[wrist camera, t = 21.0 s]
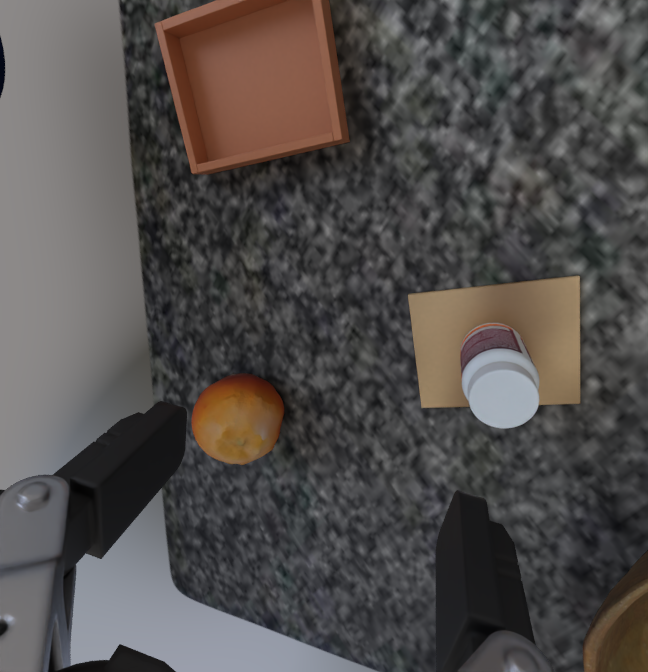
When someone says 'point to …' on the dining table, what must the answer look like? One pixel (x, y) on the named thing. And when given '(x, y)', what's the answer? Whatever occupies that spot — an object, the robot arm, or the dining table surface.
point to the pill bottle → (498, 376)
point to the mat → (505, 308)
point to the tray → (254, 81)
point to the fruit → (238, 418)
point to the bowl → (621, 626)
